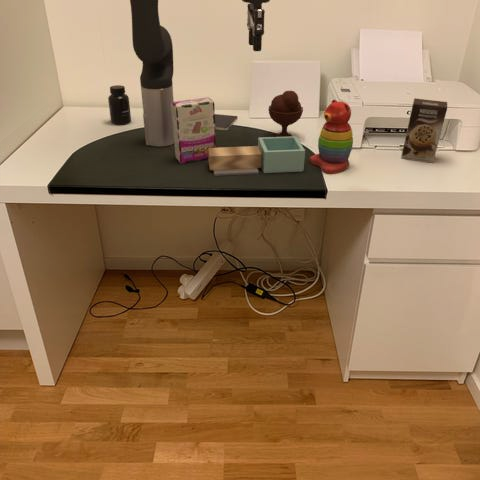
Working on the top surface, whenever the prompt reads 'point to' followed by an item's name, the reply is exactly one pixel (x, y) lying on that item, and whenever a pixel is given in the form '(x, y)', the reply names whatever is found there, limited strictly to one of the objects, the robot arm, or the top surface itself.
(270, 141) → the dish
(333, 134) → the stacking bear
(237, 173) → the mat
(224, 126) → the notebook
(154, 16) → the robot arm
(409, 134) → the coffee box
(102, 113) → the top surface
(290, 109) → the ice cream bowl
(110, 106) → the supplement bottle
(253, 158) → the wooden block
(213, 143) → the candy bar box
